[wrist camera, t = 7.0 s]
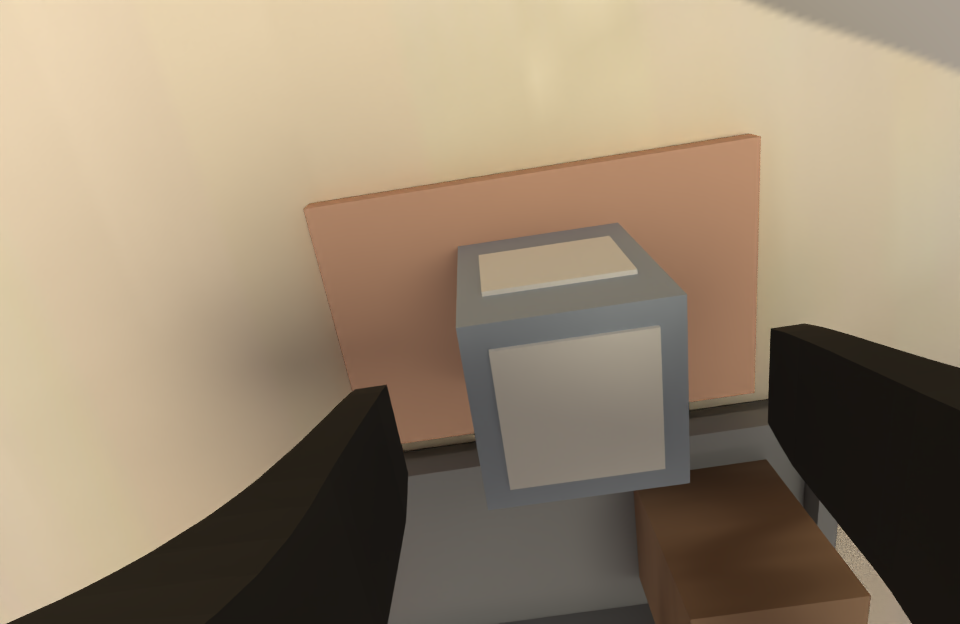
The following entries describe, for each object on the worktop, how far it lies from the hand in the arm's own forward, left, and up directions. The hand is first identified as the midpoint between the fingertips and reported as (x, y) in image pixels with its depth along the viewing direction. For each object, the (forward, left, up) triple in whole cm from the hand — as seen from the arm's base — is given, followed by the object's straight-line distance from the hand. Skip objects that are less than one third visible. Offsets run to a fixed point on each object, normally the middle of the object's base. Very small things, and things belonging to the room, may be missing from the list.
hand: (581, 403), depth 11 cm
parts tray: (0, +8, -5) cm, 10 cm away
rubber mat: (0, 0, -5) cm, 5 cm away
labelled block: (0, 0, -5) cm, 5 cm away
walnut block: (-4, +8, -5) cm, 10 cm away
